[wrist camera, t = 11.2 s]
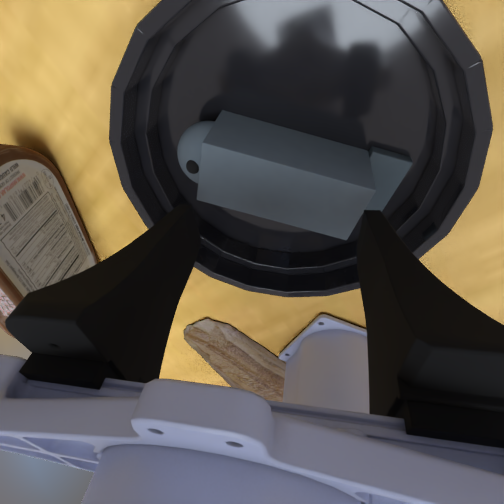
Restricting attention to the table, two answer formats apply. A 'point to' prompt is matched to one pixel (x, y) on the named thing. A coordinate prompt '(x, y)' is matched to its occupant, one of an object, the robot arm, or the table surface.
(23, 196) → the tin
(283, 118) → the pan
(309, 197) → the grey flat-sided piece
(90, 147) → the table surface
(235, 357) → the fish fossil
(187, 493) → the robot arm
